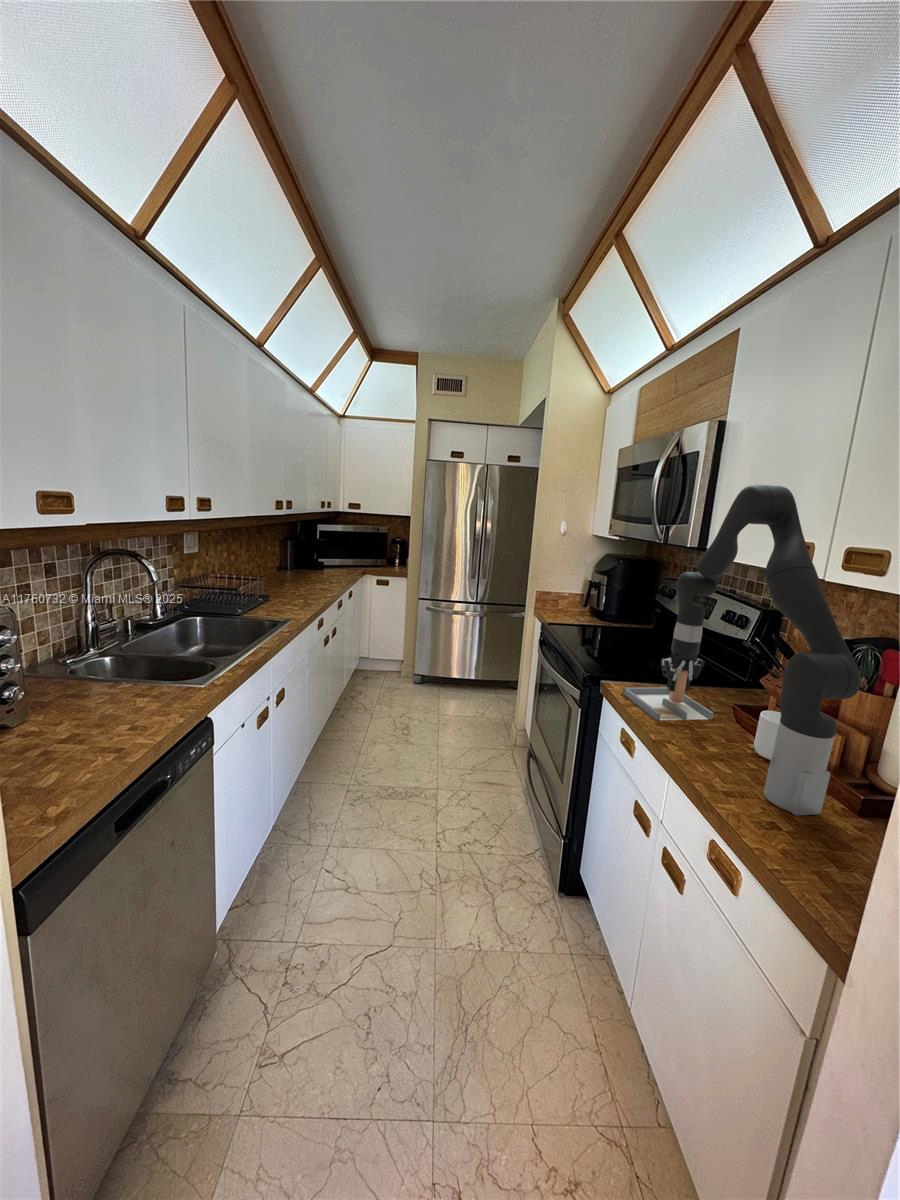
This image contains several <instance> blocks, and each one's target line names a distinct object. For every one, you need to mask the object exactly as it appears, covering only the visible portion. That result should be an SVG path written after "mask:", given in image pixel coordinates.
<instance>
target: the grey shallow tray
mask: <svg viewBox="0 0 900 1200" xmlns="http://www.w3.org/2000/svg"><path fill="white" fill-rule="evenodd" d="M621 694H622V695H624V696H625V697H626V698H627V699H629V700H630V701H631V702H632V703H634V704H635V705H636V706H638V707H639V708H640V709H641V710H643V711H644V712H645V713H646V714H648V715H649V716H650V717H651V718H652V719H654V720H655V721H691V720H699V721H700V720H713V718H714V712H713V711H712V710H710V709H709V708H707V707H705V706H704V705H702V704H701V703H699V702H697V701H696V700H694V699H693V698H691V697H690V696H688V695H686V694H685V693H684V698H683V702H682V703H676V702H673V701H671V700H669V695H670V690H668V688H667V686H665V687H660V686H659V687H653V686H651V687H646V686H645V687H623V689H622V693H621ZM654 708H667V709H669V710H670V711H671V712H673V713H674V714H676V715H677V716H678V717H679V718H660V713H659V712H658V711H656V710H655V709H654Z"/></svg>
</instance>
